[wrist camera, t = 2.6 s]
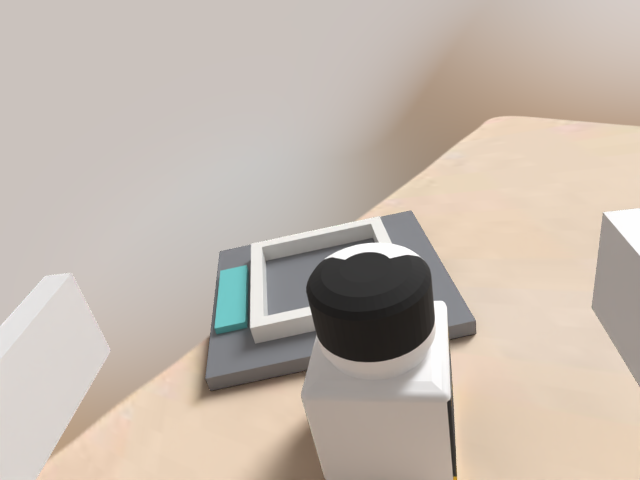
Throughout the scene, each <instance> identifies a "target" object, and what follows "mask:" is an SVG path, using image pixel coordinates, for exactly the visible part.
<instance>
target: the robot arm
mask: <svg viewBox="0 0 640 480" xmlns="http://www.w3.org/2000/svg"><path fill="white" fill-rule="evenodd" d="M592 309H593V311H594V312H595V314H596V316H597V317H598V319H599V321H600V322H601V324H602V326H603V327H604V329H605V330H606V332H607V334H608V335H609V337H610V339H611V340H612V342H613V344H614V345H615V347H616V349H617V350H618V352H619V354H620V355H621V357H622V358H623V360H624V362H625V363H626V365H627V367H628V368H629V370H630V372H631V373H632V375H633V377H634V378H635V380H636V382H637V383H638V385H639V386H640V208H637V209H628V210H619V211H610V212H603V217H602V225H601V234H600V242H599V250H598V259H597V267H596V275H595V284H594V292H593V300H592ZM110 351H111V350H110V348H109V346H108V344H107V342H106V340H105V338H104V336H103V334H102V332H101V330H100V328H99V326H98V324H97V322H96V320H95V318H94V316H93V314H92V312H91V310H90V308H89V307H88V304H87V302H86V300H85V298H84V296H83V294H82V293H81V290H80V288H79V287H78V284H77V282H76V280H75V278H74V277H73V275H72V273H65V274H56V275H48V276H45V277H44V278H43V279H42V280H41V281H40V282H39V283H38V284H37V286H36V287H35V288H34V289H33V290H32V291H31V292H30V293H29V294H28V296H27V297H26V298H25V299H24V300H23V301H22V302H21V303H20V305H19V306H18V307H17V308H16V309H15V310H14V311H13V312H12V314H11V315H10V316H9V317H8V318H7V319H6V320H5V321H4V322H3V324H2V325H1V326H0V480H36V479H37V477H38V475H39V474H40V472H41V470H42V468H43V467H44V465H45V463H46V462H47V460H48V458H49V456H50V455H51V453H52V451H53V449H54V448H55V446H56V444H57V443H58V441H59V439H60V437H61V436H62V434H63V432H64V431H65V429H66V427H67V425H68V424H69V422H70V420H71V418H72V417H73V415H74V413H75V412H76V410H77V408H78V406H79V405H80V403H81V401H82V399H83V398H84V396H85V394H86V393H87V391H88V389H89V387H90V386H91V384H92V382H93V381H94V379H95V377H96V375H97V374H98V372H99V370H100V368H101V367H102V365H103V363H104V362H105V360H106V358H107V356H108V355H109V353H110Z"/></svg>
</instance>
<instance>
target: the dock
mask: <svg viewBox="0 0 640 480" xmlns="http://www.w3.org/2000/svg"><path fill="white" fill-rule="evenodd" d="M366 243H389V244H395V245H399V246H402V247H405V248H407V249H410V250H411V251H413V252H415V253H416V254H417V255H419V256H420V257H421V258H422V259H424V261H425V262H426V263H427V264H428V266H429V268H430V271H431V276H432V288H433V299H434V301H443V302H445V304H446V306H447V315H448V329H449V339H454V338H459V337H463V336H468V335H473V334H476V320H475V318H474V317H473V315H472V313H471V312H470V310H469V308H468V306H467V305H466V303H465V301H464V300H463V298H462V296H461V295H460V293H459V291H458V289H457V288H456V286H455V284H454V283H453V281H452V279H451V277H450V276H449V274H448V272H447V271H446V269H445V267H444V265H443V264H442V262H441V260H440V259H439V257H438V255H437V253H436V252H435V250H434V248H433V247H432V245H431V243H430V241H429V240H428V238H427V236H426V235H425V233H424V231H423V229H422V228H421V226H420V224H419V223H418V221H417V219H416V217H415V216H414V214H413V212H412V211H406V212H401V213H397V214H392V215H387V216H383V217H380V216H378V217H374V218H369V219H364V220H360V221H355V222H350V223H346V224H341V225H336V226H332V227H327V228H322V229H318V230H313V231H308V232H304V233H299V234H294V235H290V236H285V237H280V238H276V239H271V240H266V241H262V242H258V243H253V244H251V245H248V246H243V247H238V248H234V249H229V250H224V251H220V254H219V263H218V271H217V280H216V289H215V298H214V307H213V315H212V324H211V333H210V342H209V351H208V360H207V368H206V377H205V379H206V382H207V384H208V386H209V389H210V391H212V390H217V389H222V388H226V387H231V386H235V385H240V384H245V383H249V382H254V381H259V380H263V379H268V378H273V377H277V376H282V375H287V374H291V373H296V372H301V371H305V370H307V369H308V365H309V361H310V357H311V354H312V350H313V346H314V342H315V338H316V335H317V334H316V330H315V326H314V322H313V318H312V314H311V310H310V306H309V301H308V297H307V293H306V286H307V281H308V279H309V277H310V275H311V274H312V272H313V271H314V269H315V268H316V267H317V265H318V264H319V263H320V262H322V261H323V260H324V259H325V258H327V257H328V256H330V255H331V254H333V253H335V252H337V251H339V250H342V249H345V248H347V247H351V246H354V245H359V244H366Z"/></svg>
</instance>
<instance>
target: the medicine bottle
mask: <svg viewBox="0 0 640 480" xmlns="http://www.w3.org/2000/svg"><path fill="white" fill-rule="evenodd" d="M306 293H307V297H308V301H309V306H310V310H311V314H312V318H313V322H314V326H315V330H316V334H317V335H316V338H315V342H314V346H313V350H312V354H311V357H310V361H309V365H308V369H307V373H306V377H305V380H304V384H303V388H302V392H301V398H302V402H303V405H304V409H305V412H306V416H307V419H308V423H309V426H310V430H311V433H312V437H313V440H314V444H315V447H316V451H317V454H318V457H319V461H320V464H321V468H322V471H323V475H324V478H325V479H326V480H457V467H456V446H455V425H454V405H453V385H452V371H451V357H450V343H449V329H448V315H447V306H446V304H445V302H443V301H434V299H433V288H432V276H431V271H430V268H429V266H428V264H427V263H426V262H425V261H424V259H422V258H421V257H420V256H419V255H417V254H416V253H415V252H413V251H411V250H410V249H407V248H405V247H402V246H399V245H395V244H389V243H366V244H359V245H354V246H351V247H347V248H345V249H342V250H339V251H337V252H335V253H333V254H331V255H330V256H328V257H327V258H325V259H324V260H323V261H322V262H320V263H319V264H318V265H317V267H316V268H315V269H314V271H313V272H312V274H311V275H310V277H309V279H308V281H307V286H306Z"/></svg>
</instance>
